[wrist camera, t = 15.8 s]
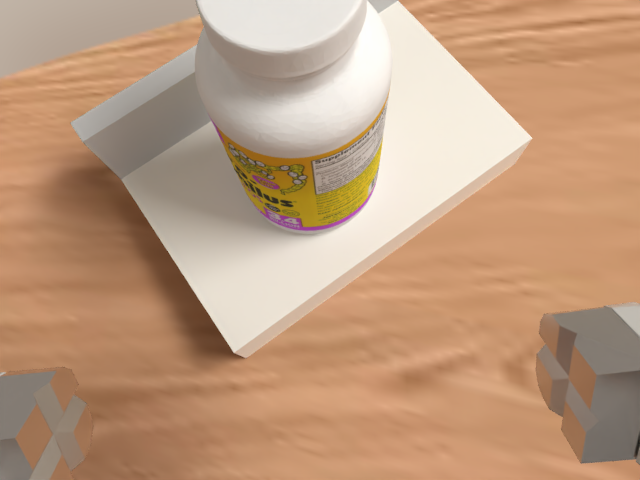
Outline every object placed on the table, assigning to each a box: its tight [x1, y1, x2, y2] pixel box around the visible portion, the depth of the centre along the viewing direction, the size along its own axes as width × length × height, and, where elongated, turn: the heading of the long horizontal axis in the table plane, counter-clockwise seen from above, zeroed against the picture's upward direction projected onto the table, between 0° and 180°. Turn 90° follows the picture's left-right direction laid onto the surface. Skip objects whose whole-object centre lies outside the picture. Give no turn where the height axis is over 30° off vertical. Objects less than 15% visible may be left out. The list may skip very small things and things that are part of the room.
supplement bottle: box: [195, 0, 393, 234], centre depth 20 cm, size 7×7×13 cm
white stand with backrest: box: [71, 0, 532, 358], centre depth 26 cm, size 18×12×7 cm, turn 126°
